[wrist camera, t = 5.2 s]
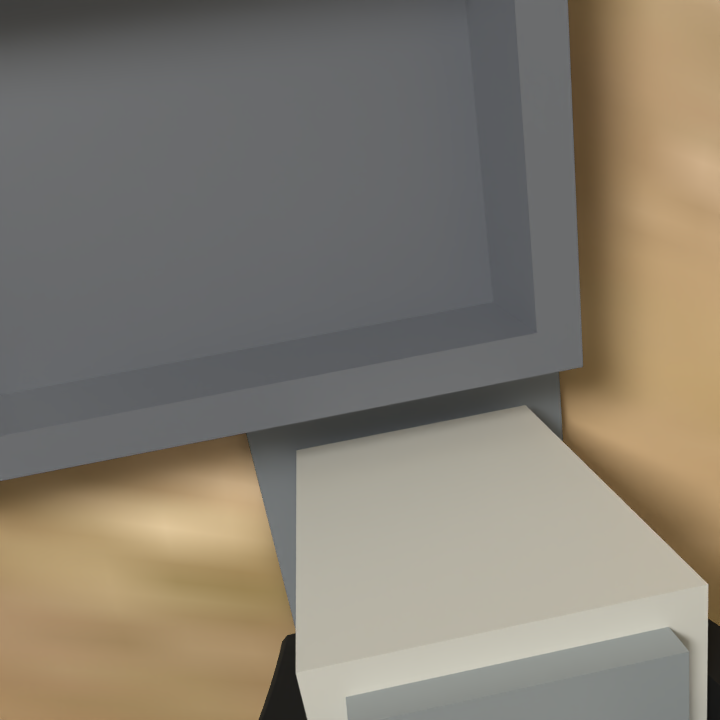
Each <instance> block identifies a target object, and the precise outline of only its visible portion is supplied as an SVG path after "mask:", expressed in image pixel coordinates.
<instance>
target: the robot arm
mask: <svg viewBox="0 0 720 720" xmlns="http://www.w3.org/2000/svg"><path fill="white" fill-rule="evenodd" d="M259 720H307V716H306V712H305V708H304V704H303V700H302V696H301V692H300V688H299V684H298V680H297V676H296V633H295V634H291V635H287V636H286V638H285V639H284V640H283V641H282V645H281V649H280V654H279V658H278V661H277V665H276V669H275V672H274V675H273V679H272V682H271V685H270V688H269V691H268V694H267V697H266V700H265V703H264V706H263V709H262V712H261V715H260V717H259ZM707 720H720V626H718V625H717V624H715V623H714V622H712V621H711V620H709V619H708V660H707Z"/></svg>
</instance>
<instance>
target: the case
mask: <svg viewBox="0 0 720 720" xmlns="http://www.w3.org/2000/svg"><path fill="white" fill-rule="evenodd" d="M580 367H583V353H582V329H581V305H580V281H579V258H578V234H577V210H576V186H575V162H574V138H573V114H572V90H571V67H570V43H569V19H568V0H0V481H3V480H8V479H13V478H18V477H23V476H28V475H33V474H39V473H44V472H49V471H54V470H59V469H64V468H69V467H74V466H79V465H85V464H90V463H95V462H100V461H105V460H110V459H115V458H120V457H125V456H131V455H136V454H141V453H146V452H151V451H156V450H161V449H166V448H171V447H176V446H182V445H187V444H192V443H197V442H202V441H207V440H212V439H217V438H222V437H228V436H233V435H238V434H243V433H248V432H253V431H258V430H263V429H268V428H273V427H279V426H284V425H289V424H294V423H299V422H304V421H309V420H314V419H319V418H325V417H330V416H335V415H340V414H345V413H350V412H355V411H360V410H365V409H371V408H376V407H381V406H386V405H391V404H396V403H401V402H406V401H411V400H416V399H422V398H427V397H432V396H437V395H442V394H447V393H452V392H457V391H462V390H468V389H473V388H478V387H483V386H488V385H493V384H498V383H503V382H508V381H513V380H519V379H524V378H529V377H534V376H539V375H544V374H549V373H554V372H559V371H565V370H570V369H575V368H580Z"/></svg>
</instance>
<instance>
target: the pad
mask: <svg viewBox="0 0 720 720" xmlns="http://www.w3.org/2000/svg"><path fill="white" fill-rule="evenodd" d="M524 405H526V406H527V407H528V408H529V409H530V410H531V411H532V412H533V413H534V414H535V415H536V416H537V417H538V418H539V419H540V420H541V421H542V422H543V423H544V424H545V425H546V426H547V427H548V428H549V429H550V430H551V431H552V432H553V433H554V434H555V435H556V436H558V437H559V438H560V439H561V440H562V441H563V435H562V417H561V399H560V381H559V372H554V373H549V374H544V375H539V376H534V377H529V378H524V379H519V380H513V381H508V382H503V383H498V384H493V385H488V386H483V387H478V388H473V389H468V390H462V391H457V392H452V393H447V394H442V395H437V396H432V397H427V398H422V399H416V400H411V401H406V402H401V403H396V404H391V405H386V406H381V407H376V408H371V409H365V410H360V411H355V412H350V413H345V414H340V415H335V416H330V417H325V418H319V419H314V420H309V421H304V422H299V423H294V424H289V425H284V426H279V427H273V428H268V429H263V430H258V431H253V432H248V433H246V434H247V438H248V442H249V446H250V450H251V454H252V458H253V462H254V466H255V470H256V474H257V478H258V482H259V486H260V490H261V494H262V498H263V502H264V506H265V510H266V514H267V518H268V521H269V525H270V529H271V533H272V537H273V541H274V545H275V549H276V553H277V557H278V561H279V565H280V569H281V573H282V577H283V581H284V585H285V589H286V593H287V597H288V601H289V605H290V609H291V612H292V616H293V620H294V624H295V628H296V450H301V449H306V448H311V447H316V446H321V445H326V444H331V443H336V442H341V441H346V440H351V439H356V438H362V437H367V436H372V435H377V434H382V433H387V432H392V431H397V430H402V429H407V428H412V427H417V426H422V425H427V424H433V423H438V422H443V421H448V420H453V419H458V418H463V417H468V416H473V415H478V414H483V413H488V412H493V411H498V410H503V409H509V408H514V407H519V406H524Z"/></svg>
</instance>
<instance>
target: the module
mask: <svg viewBox="0 0 720 720" xmlns="http://www.w3.org/2000/svg"><path fill="white" fill-rule="evenodd" d="M707 660H708V584H707V583H706V582H705V581H704V580H703V579H702V578H701V577H700V576H699V575H698V574H697V573H696V572H695V571H694V570H693V569H692V568H691V567H690V566H689V565H688V564H687V563H686V562H685V561H684V560H683V559H682V558H681V557H680V556H679V555H678V554H677V553H676V552H675V551H674V550H673V549H672V548H671V547H670V546H669V545H668V544H667V543H666V542H665V541H664V540H663V539H662V538H661V537H659V536H658V535H657V534H656V533H655V532H654V531H653V530H652V529H651V528H650V527H649V526H648V525H647V524H646V523H645V522H644V521H643V520H642V519H641V518H640V517H639V516H638V515H637V514H636V513H635V512H634V511H633V510H632V509H631V508H630V507H629V506H628V505H627V504H626V503H625V502H624V501H623V500H622V499H621V498H620V497H619V496H618V495H617V494H616V493H615V492H614V491H613V490H612V489H611V488H610V487H609V486H607V485H606V484H605V483H604V482H603V481H602V480H601V479H600V478H599V477H598V476H597V475H596V474H595V473H594V472H593V471H592V470H591V469H590V468H589V467H588V466H587V465H586V464H585V463H584V462H583V461H582V460H581V459H580V458H579V457H578V456H577V455H576V454H575V453H574V452H573V451H572V450H571V449H570V448H569V447H568V446H567V445H566V444H565V443H564V442H563V441H562V440H561V439H560V438H559V437H558V436H556V435H555V434H554V433H553V432H552V431H551V430H550V429H549V428H548V427H547V426H546V425H545V424H544V423H543V422H542V421H541V420H540V419H539V418H538V417H537V416H536V415H535V414H534V413H533V412H532V411H531V410H530V409H529V408H528V407H527V406H526V405H524V406H519V407H514V408H509V409H503V410H498V411H493V412H488V413H483V414H478V415H473V416H468V417H463V418H458V419H453V420H448V421H443V422H438V423H433V424H427V425H422V426H417V427H412V428H407V429H402V430H397V431H392V432H387V433H382V434H377V435H372V436H367V437H362V438H356V439H351V440H346V441H341V442H336V443H331V444H326V445H321V446H316V447H311V448H306V449H301V450H296V676H297V680H298V684H299V688H300V692H301V696H302V700H303V704H304V708H305V712H306V716H307V720H707Z"/></svg>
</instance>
